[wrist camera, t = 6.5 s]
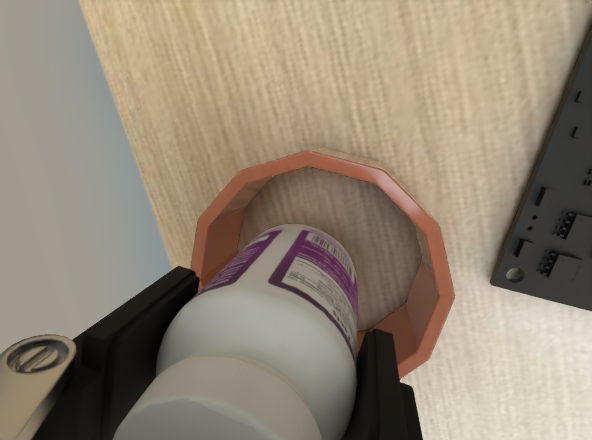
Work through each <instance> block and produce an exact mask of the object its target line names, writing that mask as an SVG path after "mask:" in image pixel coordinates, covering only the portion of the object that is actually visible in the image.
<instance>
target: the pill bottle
mask: <svg viewBox="0 0 592 440" xmlns="http://www.w3.org/2000/svg"><path fill="white" fill-rule="evenodd" d="M357 309H358V285H357V275H356V271H355V268H354V265H353V262H352V260H351V258H350V256H349V254H348V253H347V251H346V250H345V248H344V247H343V246H342V245H341V244H340V243H339V242H338V241H337V240H336V239H335V238H333V237H332V236H330V235H329V234H327V233H325V232H323V231H322V230H320V229H318V228H315V227H312V226H309V225H305V224H283V225H278V226H275V227H272V228H270V229H268V230H266V231H264V232H262V233H261V234H259V235H258V236H257V237H256V238H254V239H253V240H252V241H251V242H250V243H249V244H248V245H247V246H246V247H245V248H244V249H243V250H241V251H240V252H239V254H238V255H236V256H235V257H234V258H233V259H232V260H231V261H230V262H229V263H228V264H227V265H226V266H225V267H224V268H223V269H222V270H221V271H220V272H219V273H218V274H217V275H216V276H215V277H214V278H213V279H212V280H211V281H209V282H208V283H207V284H206V285H205V286H204V287H203V288H202V289H201V290H200V291H199V292H198V293H197V294H196V295H195V296H194V297H193V298H192V299H191V300H190V301H189V302H188V303H187V304H185V305H184V307H183V308H182V309H181V310H180V311H179V312H178V314H177V315H176V316H175V318H174V319H173V321H172V322H171V324H170V325H169V327H168V328H167V330H166V332H165V334H164V336H163V339H162V342H161V345H160V348H159V351H158V356H157V364H156V378H155V379H154V381H153V382H152V383H151V384H150V386H149V387H148V388H147V390H146V391H145V392H144V393H143V395H142V396H141V397H140V399H139V400H138V401H137V402H136V404H135V405H134V406H133V408H132V409H131V410H130V412H129V413H128V414H127V416H126V417H125V419H124V420H123V421H122V423H121V424H120V425H119V427H118V429H117V431H116V433H115V435H114V438H113V440H341V438H342V436H343V435H344V433H345V431H346V429H347V427H348V425H349V422H350V420H351V417H352V414H353V410H354V405H355V397H356V389H357V386H358V384H357Z"/></svg>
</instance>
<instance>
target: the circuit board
mask: <svg viewBox="0 0 592 440" xmlns="http://www.w3.org/2000/svg"><path fill="white" fill-rule="evenodd" d="M532 216H533V217H532ZM512 268H520V269H521V274H520V276H519V277H518V278H516V279H507V277H506V274H507V272H508V271H509V270H510V269H512ZM490 283H491V284H492V285H493V286H497V287H500V288H504V289H508V290H512V291H516V292H520V293H523V294H527V295H531V296H535V297H539V298H543V299H546V300H550V301H554V302H558V303H562V304H566V305H570V306H573V307H577V308H581V309H585V310H589V311H592V26H591V28H590V31H589V33H588V36H587V38H586V41H585V43H584V46H583V48H582V51H581V53H580V56H579V58H578V61H577V63H576V66H575V68H574V71H573V73H572V76H571V78H570V81H569V83H568V86H567V88H566V91H565V93H564V96H563V98H562V101H561V103H560V106H559V108H558V111H557V113H556V116H555V118H554V121H553V123H552V126H551V128H550V131H549V133H548V136H547V139H546V141H545V144H544V146H543V149H542V151H541V154H540V156H539V159H538V161H537V164H536V166H535V169H534V171H533V174H532V176H531V179H530V181H529V184H528V186H527V189H526V191H525V194H524V196H523V199H522V201H521V204H520V206H519V209H518V211H517V214H516V216H515V219H514V221H513V224H512V226H511V229H510V231H509V234H508V236H507V239H506V241H505V244H504V246H503V249H502V252H501V254H500V257H499V259H498V262H497V264H496V267H495V269H494V272H493V274H492V277H491V279H490Z"/></svg>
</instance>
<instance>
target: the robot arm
mask: <svg viewBox="0 0 592 440" xmlns="http://www.w3.org/2000/svg"><path fill="white" fill-rule="evenodd" d="M199 283H200V278H199V277H198V276H196V272H195V271H193V270H190V269H187V268H184V267H181V266H178V267H176V268H174V269H173V270H172V271H170V272H169V273H167V274H166V275H164V276H163V277H162V278H160V279H159V280H157V281H156V282H154V283H153V284H152V285H150V286H149V287H147V288H146V289H145V290H143V291H142V292H140V293H139V294H137V295H136V296H135V297H133V298H132V299H130V300H129V301H127V302H126V303H125V304H123V305H121V306H120V307H119V308H117V309H116V310H114V311H113V312H112V313H110V314H109V315H107V316H106V317H104V318H103V319H102V320H100V321H99V322H97V323H96V324H94V325H93V326H91V327H90V328H89V329H87V330H86V331H84V332H83V333H81V334H80V335H79V336H77V337H76V338H74V339H73V340H71V339H69V338H67V337H65V336H60V335H40V336H33V337H30V338H27V339H24V340H21V341H19V342H17V343H15V344H13V345H11V346H10V347H9V348H7V349H6V350H5V351H4V352H3V353H2V354H1V355H0V440H113V438H114V435H115V433H116V431H117V429H118V427H119V425H120V424H121V423H122V421H123V420H124V419H125V417H126V416H127V414H128V413H129V412H130V410H131V409H132V408H133V406H134V405H135V404H136V402H137V401H138V400H139V399H140V397H141V396H142V395H143V393H144V392H145V391H146V390H147V388H148V387H149V386H150V384H151V383H152V382H153V381H154V379H155V378H156V364H157V356H158V351H159V348H160V345H161V342H162V339H163V336H164V334H165V332H166V330H167V328H168V327H169V325H170V324H171V322H172V321H173V319H174V318H175V316H176V315H177V314H178V312H179V311H180V310H181V309H182V308H183V307H184V305H185V304H187V303H188V302H189V301H190V300H191V299H192V298H193V297H194V296H195V295H196V294H197V293H198V289H199ZM357 384H358V386H357V389H356V397H355V405H354V410H353V414H352V417H351V420H350V422H349V425H348V427H347V429H346V431H345V433H344V435H343V436H342V438H341V440H423V437H422V432H421V427H420V422H419V417H418V412H417V407H416V402H415V396H414V392H413V388H412V387H411V386H409V385H406V384H403V383H400V379H399V372H398V365H397V359H396V352H395V345H394V338H393V334H392V333H389V332H386V331H383V330H380V329H377V328H374V329H373V331H372V332H371V331H366V332H365V335H364V338H363V341H362V344H361V347H360V350H359V353H358V356H357Z"/></svg>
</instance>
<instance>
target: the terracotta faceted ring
mask: <svg viewBox="0 0 592 440" xmlns="http://www.w3.org/2000/svg"><path fill="white" fill-rule="evenodd" d="M307 166H310V167H313V168H317V169H321V170H325V171H328V172H332V173H336V174H340V175H344V176H347V177H351V178H355V179H359V180H363V181H366V182H370V183H374V184H376V185H377V186H378V187H379V188H380V189H381V190H382V191H383V192H384V193H385V194H386V195H387V196H388V197H389V198H390V199H391V200H392V201H393V202H394V203H395V204H396V205H397V206H398V207H399V208H400V209H401V210H402V211H403V212H404V213H405V214H406V215H407V216H408V217H409V218H410V219H411V220H412V221H413V222H414V224H415V228H416V232H417V237H418V241H419V245H420V250H421V254H422V261H421V264H420V266H419V269H418V272H417V274H416V277H415V280H414V282H413V285H412V288H411V291H410V293H409V296H408V299H407V301H406V303H405V304H403V305H402V306H401V307H399V308H398V309H397V310H395V311H394V312H393V313H391V314H390V315H389V316H388V317H386V318H385V319H384V320H382V321H381V322H380V323H378V324H377V325H376V326H374V327H373V328H372V329H370V330H366V331H371V332H372V331H373V329H374V328H377V329H380V330H383V331H386V332H389V333H392V334H393V338H394V345H395V352H396V359H397V365H398V372H399V379H401V378H402V377H404V376H405V375H407V374H408V373H410V372H411V371H413V370H414V369H416V368H417V367H418V366H420V365H421V364H423V363H424V362H426V361H427V360H428V359H429V358H430V356H431V354H432V351H433V349H434V347H435V344H436V342H437V340H438V337H439V335H440V332H441V330H442V328H443V325H444V323H445V320H446V318H447V316H448V313H449V311H450V308H451V306H452V304H453V301H454V299H455V293H454V289H453V284H452V280H451V275H450V270H449V266H448V261H447V257H446V252H445V247H444V243H443V238H442V233H441V229H440V226H439V224H438V223H437V222H436V220H435V219H434V218H433V216H432V215H431V214H430V213H429V211H428V210H427V209H426V207H425V206H424V205H423V204H422V202H421V201H420V200H419V199H418V198H417V197H416V196H415V195H414V194H413V193H412V192H411V191H410V190H409V189H408V188H407V187H406V186H405V185H404V184H403V183H402V182H401V181H400V180H399V179H398V178H397V177H396V176H395V175H394V174H393V173H392V172H391V171H390V170H389V169H388V168H387V167H386V166H385V165H384V164H383V163H382V162H380V161H376V160H373V159H369V158H365V157H361V156H357V155H353V154H349V153H345V152H341V151H337V150H333V149H329V148H325V147H323V148H317V149H312V150H307V151H304V152H300V153H297V154H294V155H290V156H287V157H284V158H280V159H277V160H274V161H270V162H267V163H264V164H260V165H257V166H254V167H250V168H247V169H244V170H241V171H239V172H238V173H237V174H236V176H235V177H234V178H233V179H232V180H231V181H230V183H229V184H228V185H227V186H226V187H225V188H224V190H223V191H222V192H221V193H220V194H219V195H218V196H217V198H216V199H215V200H214V201H213V202H212V203H211V205H210V206H209V207H208V208H207V209H206V210H205V212H204V213H203V214H202V215H201V216H200V217H199V220H198V222H197V229H196V235H195V242H194V248H193V255H192V261H191V268H190V270H193V271H195V272H196V276H198V277H199V278H200V283H199V289H198V292H199V291H200V290H201V289H202V288H203V287H204V286H205V285H206V284H207V283H208V282H209V281H211V280H212V279H213V278H214V277H215V276H216V275H217V274H218V273H219V272H220V271H221V270H222V269H223V268H224V267H225V266H226V265H227V264H228V263H229V262H230V261H231V260H232V259H233V258H234V257H235V256H236V255H238V251H237V246H238V240H239V235H240V230H241V225H242V220H243V215H244V210H245V206H246V205H247V204H248V203H249V202H250V201H251V200H252V199H253V198H254V196H255V195H256V194H257V193H258V192H259V191H260V190H261V189H262V188H263V187H264V185H265V184H266V183H267V182H268V181H269V180H270V179H271V178H272V177H273V176H276V175H279V174H283V173H286V172H290V171H293V170H297V169H300V168H304V167H307ZM366 331H359V332H357V356H358V353H359V350H360V347H361V344H362V341H363V338H364V335H365V332H366Z"/></svg>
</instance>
